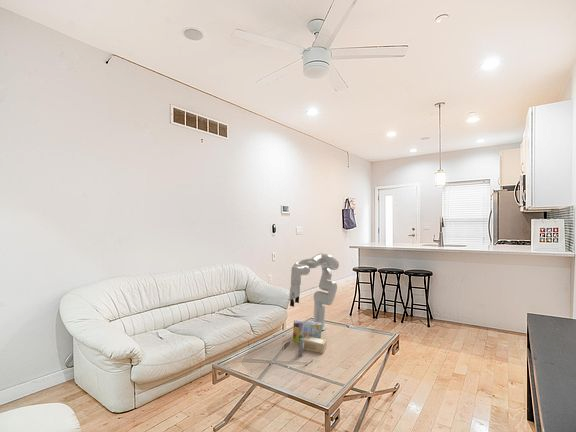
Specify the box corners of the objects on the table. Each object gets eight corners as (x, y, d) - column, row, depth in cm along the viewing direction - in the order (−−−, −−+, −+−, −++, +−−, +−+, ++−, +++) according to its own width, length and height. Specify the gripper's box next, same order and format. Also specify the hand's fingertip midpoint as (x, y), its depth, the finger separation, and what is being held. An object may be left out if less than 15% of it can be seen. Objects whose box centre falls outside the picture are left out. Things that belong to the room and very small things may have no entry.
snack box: (320, 341, 244) (321, 322, 243) (320, 344, 238) (321, 325, 238) (293, 338, 246) (294, 319, 246) (292, 342, 241) (293, 322, 240)
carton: (305, 343, 238) (306, 335, 238) (326, 348, 232) (326, 340, 232) (302, 348, 231) (302, 339, 231) (323, 353, 225) (323, 344, 224)
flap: (300, 347, 231) (301, 332, 230) (303, 348, 230) (304, 332, 230) (298, 356, 218) (299, 339, 218) (302, 356, 218) (303, 339, 218)
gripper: (295, 279, 250) (294, 300, 251) (286, 284, 234) (285, 306, 235) (304, 280, 247) (303, 302, 248) (296, 285, 231) (294, 308, 232)
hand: (294, 304), depth 241 cm, fingers open, 9 cm apart
